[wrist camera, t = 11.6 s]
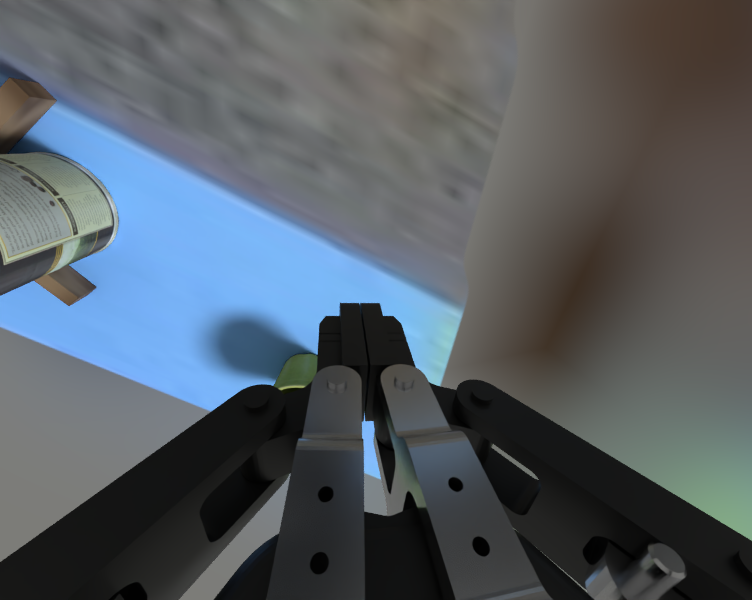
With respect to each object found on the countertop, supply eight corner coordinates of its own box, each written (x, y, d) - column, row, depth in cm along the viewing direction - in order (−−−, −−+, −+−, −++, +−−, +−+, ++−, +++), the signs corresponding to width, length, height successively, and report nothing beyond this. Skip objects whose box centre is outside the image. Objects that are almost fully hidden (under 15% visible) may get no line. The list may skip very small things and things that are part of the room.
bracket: (53, 85, 28) (25, 80, 26) (98, 296, 37) (80, 307, 35) (-98, 56, 27) (-144, 48, 24) (-14, 284, 35) (-41, 295, 33)
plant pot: (256, 374, 44) (237, 424, 36) (299, 329, 41) (289, 372, 34) (310, 406, 47) (304, 458, 40) (353, 366, 45) (356, 413, 37)
